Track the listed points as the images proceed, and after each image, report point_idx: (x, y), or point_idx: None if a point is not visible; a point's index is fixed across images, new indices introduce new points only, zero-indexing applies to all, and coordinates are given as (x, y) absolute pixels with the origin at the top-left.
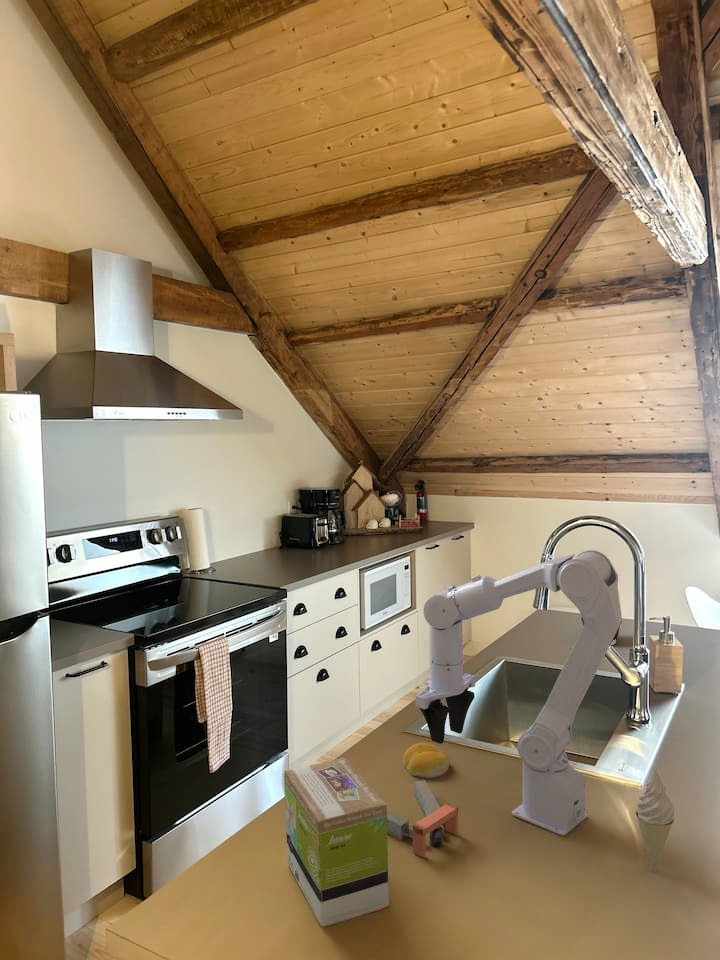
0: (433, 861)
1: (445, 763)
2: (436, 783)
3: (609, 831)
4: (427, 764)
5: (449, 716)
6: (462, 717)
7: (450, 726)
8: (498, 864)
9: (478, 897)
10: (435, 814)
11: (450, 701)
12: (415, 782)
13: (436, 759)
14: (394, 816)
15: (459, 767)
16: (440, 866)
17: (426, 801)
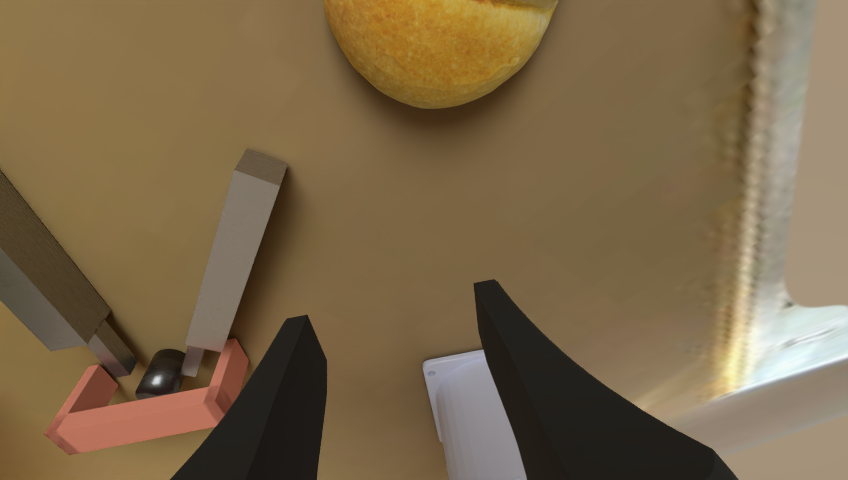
0: (132, 396)
1: (475, 99)
2: (378, 128)
3: None
4: (383, 81)
5: (499, 341)
6: (512, 427)
7: (480, 299)
8: None
9: (169, 477)
10: (143, 424)
11: (546, 458)
12: (232, 180)
13: (437, 92)
14: (43, 309)
15: (546, 84)
16: None
17: (202, 294)
